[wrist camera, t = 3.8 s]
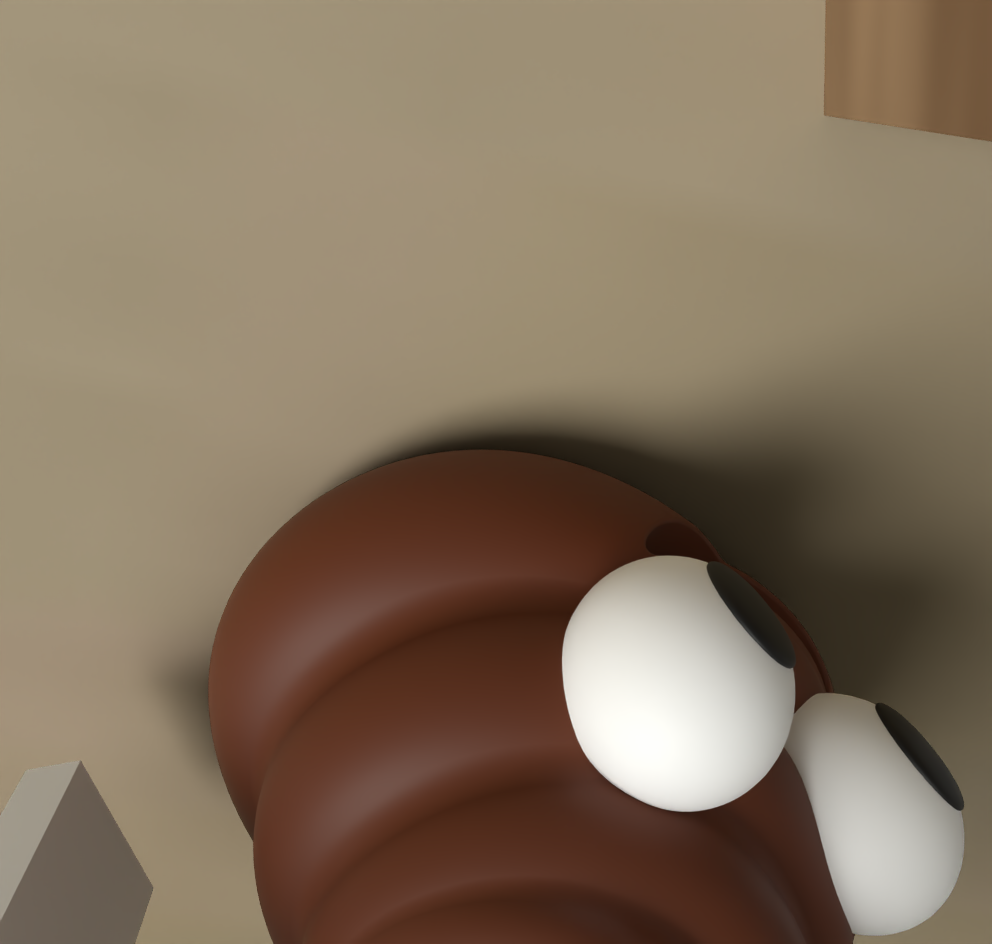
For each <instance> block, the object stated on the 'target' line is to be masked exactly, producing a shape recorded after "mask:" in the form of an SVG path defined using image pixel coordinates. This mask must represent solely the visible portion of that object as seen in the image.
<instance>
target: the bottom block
mask: <svg viewBox="0 0 992 944" xmlns="http://www.w3.org/2000/svg"><path fill="white" fill-rule="evenodd" d="M824 115H826V116H832V117H839V118H845V119H851V120H858V121H864V122H871V123H877V124H883V125H890V126H896V127H902V128H909V129H915V130H922V131H928V132H934V133H941V134H947V135H954V136H960V137H966V138H973V139H979V140H986V141H992V0H826V19H825V84H824Z"/></svg>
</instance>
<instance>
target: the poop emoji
mask: <svg viewBox="0 0 992 944" xmlns="http://www.w3.org/2000/svg"><path fill="white" fill-rule="evenodd" d="M208 702H209V716H210V724H211V731H212V737H213V742H214V747H215V751H216V755H217V759H218V762H219V766H220V769H221V772H222V776H223V778H224V781H225V784H226V787H227V789H228V792H229V794H230V797H231V799H232V802H233V804H234V806H235V808H236V810H237V812H238V814H239V816H240V819H241V820H242V822H243V824H244V826H245V828H246V830H247V832H248V833H249V835H250V837H251V839H252V840H253V854H254V870H255V879H256V885H257V891H258V896H259V901H260V905H261V909H262V912H263V916H264V919H265V922H266V925H267V928H268V931H269V934H270V936H271V939H272V941H273V944H853V940H854V936H855V934H858V935H869V936H882V935H890V934H895V933H899V932H903V931H906V930H908V929H911V928H913V927H915V926H917V925H919V924H921V923H922V922H924V921H925V920H927V919H928V918H930V917H931V916H932V915H933V914H934V913H935V912H937V911H938V909H939V908H940V907H941V906H942V905H943V904H944V902H945V901H946V900H947V898H948V897H949V895H950V894H951V892H952V890H953V888H954V886H955V884H956V882H957V879H958V876H959V873H960V870H961V866H962V860H963V854H964V825H963V818H962V813H961V810H963V808H964V801H963V797H962V795H961V792H960V790H959V787H958V785H957V783H956V782H955V780H954V778H953V776H952V775H951V773H950V771H949V770H948V768H947V767H946V765H945V764H944V762H943V761H942V760H941V758H940V757H939V756H938V754H937V753H936V752H935V750H934V749H933V748H932V747H931V745H930V744H929V743H928V742H927V741H926V739H925V738H924V737H923V736H922V735H921V734H920V733H919V732H918V731H917V730H916V729H915V728H914V726H912V725H911V724H910V723H909V722H908V721H907V720H906V719H905V718H904V717H903V716H902V715H900V714H899V713H898V712H897V711H895V710H894V709H892V708H891V707H889V706H887V705H885V704H882V703H877V704H873V703H871V702H869V701H867V700H863V699H860V698H857V697H854V696H849V695H844V694H836V693H834V690H833V687H832V683H831V680H830V677H829V675H828V672H827V669H826V667H825V664H824V662H823V660H822V658H821V656H820V654H819V652H818V650H817V648H816V646H815V644H814V642H813V641H812V639H811V637H810V636H809V634H808V633H807V631H806V630H805V628H804V627H803V626H802V624H801V623H800V622H799V621H798V619H797V618H796V617H795V616H794V614H793V613H792V612H791V611H790V610H789V609H788V608H787V607H786V606H785V605H784V604H783V603H782V602H781V601H780V600H779V599H778V598H777V597H776V596H775V595H774V594H772V593H771V592H770V591H769V590H768V589H766V588H765V587H764V586H762V585H761V584H760V583H758V582H757V581H756V580H754V579H753V578H751V577H750V576H748V575H746V574H745V573H743V572H742V571H740V570H738V569H736V568H734V567H733V566H731V565H729V564H727V563H725V562H724V561H723V560H722V558H721V557H720V555H719V553H718V552H717V551H716V549H715V548H714V546H713V545H712V544H711V543H710V541H709V540H708V539H707V538H706V537H705V535H704V534H703V533H702V532H701V531H700V530H699V529H698V528H697V527H696V526H695V525H693V524H692V523H691V522H689V521H688V520H686V519H685V518H684V517H682V516H681V515H679V514H678V513H677V512H675V511H674V510H672V509H670V508H669V507H667V506H666V505H664V504H663V503H661V502H660V501H658V500H656V499H654V498H653V497H651V496H649V495H648V494H646V493H644V492H642V491H640V490H638V489H636V488H634V487H632V486H630V485H628V484H626V483H624V482H622V481H620V480H617V479H615V478H613V477H611V476H608V475H606V474H603V473H601V472H598V471H596V470H593V469H590V468H587V467H584V466H581V465H578V464H574V463H571V462H568V461H564V460H560V459H556V458H552V457H547V456H542V455H537V454H531V453H524V452H517V451H505V450H459V451H448V452H439V453H433V454H427V455H422V456H417V457H413V458H408V459H404V460H401V461H397V462H394V463H391V464H388V465H385V466H382V467H379V468H376V469H374V470H371V471H369V472H366V473H364V474H362V475H359V476H357V477H355V478H353V479H351V480H349V481H347V482H345V483H343V484H341V485H339V486H337V487H336V488H334V489H332V490H330V491H329V492H327V493H325V494H324V495H322V496H321V497H319V498H318V499H316V500H315V501H313V502H312V503H310V504H309V505H308V506H306V507H305V508H303V509H302V510H301V511H300V512H298V513H297V514H296V515H295V516H294V517H292V518H291V519H290V520H289V521H288V522H287V523H286V524H285V525H283V526H282V527H281V528H280V529H279V530H278V531H277V532H276V533H275V534H274V535H273V536H272V537H271V538H270V539H269V540H268V542H267V543H266V544H265V545H264V546H263V547H262V548H261V550H260V551H259V552H258V554H257V555H256V556H255V557H254V559H253V560H252V561H251V563H250V564H249V565H248V567H247V568H246V570H245V571H244V573H243V574H242V576H241V578H240V580H239V581H238V583H237V585H236V586H235V588H234V590H233V592H232V594H231V596H230V598H229V600H228V602H227V605H226V607H225V610H224V612H223V614H222V617H221V620H220V623H219V626H218V629H217V633H216V636H215V640H214V644H213V650H212V655H211V661H210V669H209V682H208Z"/></svg>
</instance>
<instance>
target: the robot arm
mask: <svg viewBox="0 0 992 944" xmlns="http://www.w3.org/2000/svg"><path fill="white" fill-rule="evenodd" d="M152 891H153V886H152V884H151V882H150V881H149V879H148V877H147V875H146V874H145V872H144V870H143V869H142V867H141V865H140V863H139V862H138V860H137V858H136V856H135V855H134V853H133V851H132V849H131V848H130V846H129V844H128V842H127V841H126V839H125V837H124V835H123V834H122V832H121V830H120V828H119V827H118V825H117V823H116V821H115V820H114V818H113V816H112V814H111V813H110V811H109V809H108V807H107V806H106V804H105V802H104V800H103V799H102V797H101V795H100V793H99V792H98V790H97V788H96V786H95V785H94V783H93V781H92V779H91V778H90V776H89V774H88V772H87V771H86V769H85V767H84V766H83V764H82V762H81V760H80V761H74V762H69V763H63V764H57V765H51V766H46V767H40V768H34V769H29V770H26V771H25V773H24V775H23V776H22V778H21V780H20V782H19V783H18V785H17V787H16V789H15V791H14V792H13V794H12V796H11V798H10V799H9V801H8V803H7V805H6V806H5V808H4V810H3V812H2V813H1V815H0V944H135V942H136V939H137V936H138V933H139V930H140V927H141V924H142V921H143V918H144V915H145V912H146V909H147V906H148V903H149V900H150V897H151V894H152Z"/></svg>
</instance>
